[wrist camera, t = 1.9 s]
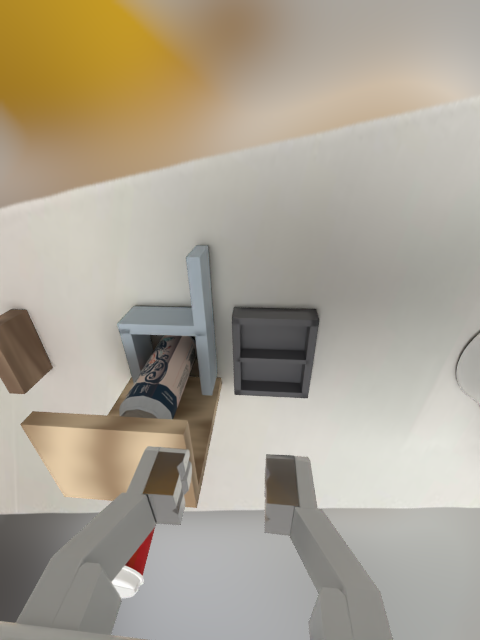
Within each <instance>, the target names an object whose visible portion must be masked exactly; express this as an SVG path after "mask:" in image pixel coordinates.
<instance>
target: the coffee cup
mask: <svg viewBox="0 0 480 640" xmlns="http://www.w3.org/2000/svg"><path fill="white" fill-rule="evenodd" d="M154 529H155V528H154ZM154 529H153V530H152V531H151V533H150V534H149V535H148V536H147V538H146V539H145V540H144V542H143V543H142V544H141V545H140V547H139V548H138V549H137V550H136V552H135V553H134V554H133V555H132V557H131V558H130V559H129V561H128V562H127V563H126V564H125V566H124V567H123V568H122V569H121V571H120V572H119V573H118V574H117V576H116V577H115V578H114V580H113V581H112V584H113V585H114V587H115V588H116V590H117V592H118V593H119V595H120V597H121V598H129V597H132V596H134V595H135V593H136V592H137V591H138V590H139V586H140V585H142V584H143V583H144V578H143V576H142V575H143V571H144V568H145V564H146V560H147V556H148V552H149V548H150V544H151V540H152V536H153V533H154Z"/></svg>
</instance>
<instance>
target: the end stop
mask: <svg viewBox="0 0 480 640" xmlns="http://www.w3.org/2000/svg"><path fill="white" fill-rule="evenodd" d="M52 368H53V367H52V365H51V363H50V361H49V358H48V356H47V354H46V352H45V350H44V347H43V345H42V343H41V341H40V339H39V337H38V334H37V332H36V330H35V328H34V326H33V323H32V321H31V319H30V317H29V315H28V312H27V310H12V309H11V310H9V311H8V312H6V313H4V314H2V315H0V378H1V379H2V381H3V383H4V384H5V386H6V388H7V390H8V391H9V393H15V394H25V393H26V392H28V391H29V390H30V389H31V388H32V387H33V386H34V385H35V384H36V383H37V382H38V381H39V380H40V379H41V378H42V377H43V376H44V375H45V374H47V373H48V372H49V371H50V370H51V369H52Z"/></svg>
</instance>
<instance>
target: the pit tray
mask: <svg viewBox="0 0 480 640" xmlns="http://www.w3.org/2000/svg"><path fill="white" fill-rule="evenodd" d="M318 325H319V318H318V315H317V312H316V309H280V308H237V307H234V311H233V315H232V335H233V364H234V393H235V395H252V396H272V397H293V398H308V393H309V386H310V380H311V373H312V366H313V359H314V352H315V346H316V339H317V332H318Z"/></svg>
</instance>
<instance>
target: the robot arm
mask: <svg viewBox="0 0 480 640" xmlns="http://www.w3.org/2000/svg"><path fill="white" fill-rule="evenodd" d="M456 376H457V381H458V384H459V386H460V388H461V389H462V391H463V392H464V393H465V394H466V395H468V396H469V397H470V398H472V399H473V400H475V401H476V402H477V403H478V404H479V406H480V333H479V334H478V335H477V336H476V337H475V338H474V339H473V340H472V341H471V342H470V343H469V345H468V346H467V347H466V349H465V350H464V352H463V353H462V355H461V357H460V359H459V362H458V365H457V371H456ZM189 457H190V453H189V449H177V448H164V447H152V446H148V447H147V448H146V449H145V451H144V453H143V455H142V457H141V459H140V462H139V464H138V466H137V469H136V471H135V473H134V476H133V478H132V480H131V483H130V485H129V487H128V490H127V492H126V493H121V494H120V495H119V496H118V497H117V498H116V499H115V500H113V501H112V502H111V503H110V504H109V505H108V506H107V507H106V508H105V509H104V510H103V511H101V512H100V513H99V514H98V515H97V516H96V517H95V518H94V519H93V520H92V521H91V522H90V523H88V524H87V525H86V526H85V527H84V528H83V529H82V530H81V531H80V532H79V533H77V534H76V535H75V536H74V537H73V538H72V539H71V540H70V541H69V542H68V543H67V544H66V545H64V546H63V547H62V548H61V549H60V550H59V551H58V552H57V553H56V554H55V555H53V556H52V558H51V560H50V562H49V563H48V565H47V567H46V569H45V571H44V573H43V574H42V576H41V578H40V580H39V581H38V583H37V585H36V587H35V589H34V590H33V592H32V594H31V596H30V598H29V600H28V601H27V603H26V605H25V607H24V609H23V610H22V612H21V614H20V616H19V618H18V619H17V621H16V623H11V622H3V621H0V640H145V639H138V638H130V637H122V636H114V635H111V633H112V630H113V627H114V623H115V620H116V617H117V614H118V611H119V608H120V605H121V602H122V601H121V597H120V595H119V593H118V592H117V590H116V588H115V587H114V585H113V584H112V581H113V580H114V578H115V577H116V576H117V574H118V573H119V572H120V571H121V569H122V568H123V567H124V566H125V564H126V563H127V562H128V561H129V559H130V558H131V557H132V555H133V554H134V553H135V552H136V550H137V549H138V548H139V547H140V545H141V544H142V543H143V542H144V540H145V539H146V538H147V536H148V535H149V534H150V533H151V531H152V530H153V529H154V528H155V526H156V524H172V525H181V520H182V517H183V513H184V508H185V504H186V503H185V498H184V495H185V494H186V493H187V492H188V491H189V487H190V483H191V476H192V464H191V462H190V461H189ZM265 498H266V499H265V533H272V534H280V535H288V536H290V538H291V540H292V542H293V544H294V546H295V548H296V550H297V552H298V554H299V556H300V558H301V560H302V562H303V564H304V566H305V568H306V570H307V572H308V574H309V576H310V578H311V580H312V582H313V584H314V586H315V587H316V590H317V592H318V594H319V595H318V598H317V600H316V603H315V606H314V609H313V612H312V614H311V617H310V620H309V634H310V640H393V638H392V634H391V630H390V626H389V623H388V619H387V615H386V611H385V608H384V604H383V600H382V596H381V593H380V591H379V589H378V588H377V586H376V585H375V584H374V582H373V581H372V579H371V578H370V577H369V575H368V574H367V572H366V571H365V570H364V568H363V567H362V565H361V564H360V562H359V561H358V560H357V558H356V557H355V555H354V554H353V552H352V551H351V550H350V548H349V547H348V545H347V544H346V542H345V541H344V540H343V538H342V537H341V535H340V534H339V533H338V531H337V530H336V528H335V527H334V526H333V524H332V523H331V521H330V520H329V519H328V517H327V516H326V514H325V513H324V511H323V510H322V509H317V502H316V496H315V489H314V483H313V476H312V470H311V463H310V459H309V458H308V457H301V456H290V455H270V454H266V468H265Z"/></svg>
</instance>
